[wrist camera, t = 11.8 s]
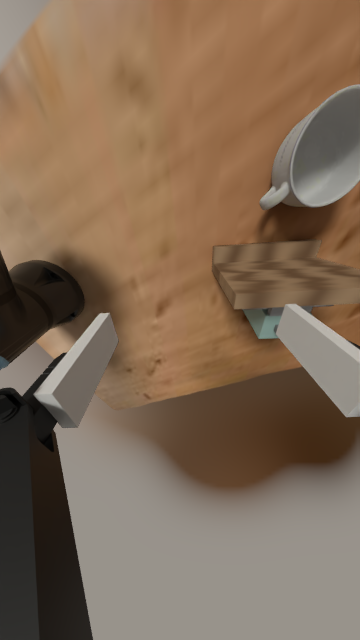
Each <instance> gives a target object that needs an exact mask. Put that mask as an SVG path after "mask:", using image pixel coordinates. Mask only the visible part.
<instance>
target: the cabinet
mask: <svg viewBox="0 0 360 640" xmlns="http://www.w3.org/2000/svg"><path fill="white" fill-rule="evenodd" d="M300 307H301V308H302V309H304V310H305V311H306V312H308V313H309V314H312V313H310V312H311V310H312V308H313V306H300ZM283 310H284V307H273V308H268V309H259V310H243V311H244V313H245V315H246V317H247V319H248V320H249V322H250V324H251V326H252V328H253V329H254V331H255V333H256V335H257V337H258V338H259V339H268V338H278V336H277V335H276V331H277V328H278V325H279V322H280V319H281V316H282V313H283Z"/></svg>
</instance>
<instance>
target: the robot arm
mask: <svg viewBox="0 0 360 640" xmlns="http://www.w3.org/2000/svg"><path fill="white" fill-rule="evenodd" d="M83 308H84V296H83V293H82V290H81V288H80V286H79V285H78V283H77V282H76V281H75V279H74V278H73V277H72V276H71V275H70V274H69V273H67V272H66V271H65V270H63V269H62V268H60V267H59V266H57V265H55V264H52V263H50V262H46V261H41V260H32V261H28V262H24V263H21V264H18V265H16V266H15V267H13V268H12V269H11V270H10V271H9V272H8V269H7V267H6V264H5V261H4V259H3V256H2V254H1V251H0V370H1V369H2V368H5V367H7V366H8V365H9V364H10V363H11V362H12V361H13V360H14V359H15V358H17V357H18V356H19V355H20V354H21V353H22V352H24V351H25V350H26V349H27V348H28V347H29V346H30V345H32V344H33V343H34V342H35V341H36V340H38V339H39V338H40V337H41V336H42V335H43V334H45V333H46V332H47V331H48V330H49V329H52V328H55V327H57V326H60V325H63V324H66V323H68V322H71V321H72V320H74V319H75V318H76V317H77V316H78V315H79V314H80V313H81V312H82V310H83ZM276 335H277V336H278V338H279V339H280V340H281V341H282V342H283V343H284V345H285V346H286V347H287V348H288V349H289V350H290V352H291V353H292V354H293V355H294V356H295V358H296V359H297V360H298V361H299V362H300V363H301V365H302V366H303V367H304V368H305V369H306V370H307V372H308V373H309V374H310V375H311V376H312V377H313V379H314V380H315V381H316V382H317V383H318V384H319V386H320V387H321V388H322V389H323V390H324V392H325V393H326V394H327V395H328V396H329V397H330V399H331V400H332V401H333V402H334V403H335V405H336V406H337V407H338V408H339V409H340V410H341V412H342V413H343V414H344V415H345V416H346V417H356V416H360V346H358V345H356V344H354V343H352V342H350V341H348V340H345V339H344V338H343V337H341V336H340V335H338V334H337V333H336V332H334V331H333V330H332V329H330V328H329V327H327V326H326V325H325V324H323V323H322V322H320V321H319V320H318V319H316V318H315V317H313V316H312V315H311V314H309V313H308V312H306V311H305V310H304V309H302V308H301V307H300V306H298V305H297V304H285V307H284V310H283V313H282V316H281V319H280V322H279V325H278V328H277V331H276ZM118 342H119V340H118V337H117V334H116V331H115V328H114V324H113V321H112V318H111V315H110V313H100V314H99V315H98V316H97V317H96V318H95V320H94V321H93V322H92V323H91V325H90V326H89V327H88V328H87V329H86V331H85V332H84V333H83V334H82V336H81V337H80V338H79V339H78V340H77V342H76V343H75V344H74V345H73V347H72V348H71V349H70V350H69V351H68V353H63V354H61V355H60V356H58V357H57V358H56V359H54V360H53V362H52V363H51V364H50V365H49V366H48V368H47V369H46V370H45V371H44V372H43V374H42V375H40V377H39V378H38V379H37V380H36V381H35V382H34V383H33V385H32V386H31V387H30V388H29V389H28V390H27V392H26V393H25V394H24V395H23V396H21V395H20V394H19V393H18V392H17V391H16V390H15V389H13V388H3V389H0V640H93V637H92V632H91V627H90V621H89V615H88V610H87V604H86V599H85V593H84V588H83V582H82V577H81V571H80V566H79V561H78V555H77V549H76V544H75V539H74V533H73V527H72V522H71V516H70V511H69V505H68V500H67V494H66V489H65V483H64V478H63V472H62V467H61V462H60V456H59V450H58V445H57V439H56V434H55V432H54V430H53V428H54V427H55V425H56V423H57V422H58V423H59V425H61V427H62V428H75V427H78V426H79V424H80V422H81V419H82V418H83V416H84V413H85V411H86V409H87V407H88V405H89V403H90V401H91V399H92V397H93V394H94V392H95V390H96V388H97V386H98V384H99V382H100V380H101V378H102V376H103V374H104V371H105V369H106V367H107V365H108V363H109V361H110V359H111V357H112V355H113V353H114V350H115V348H116V346H117V344H118Z"/></svg>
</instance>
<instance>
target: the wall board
mask: <svg viewBox="0 0 360 640" xmlns="http://www.w3.org/2000/svg"><path fill="white" fill-rule="evenodd" d="M321 242H322V240H316V239H311V240H296V241H281V242H266V243H251V244H235V245H220V246H213V256H212V272H213V274H214V275H215V277H216V279H217V280H218V282H219V284H220V286H221V287H222V289H223V291H224V293H225V294H226V296H227V298H228V300H229V301H230V303H231V305H232V307H233V308H234V309H242V310H259V309H268V308H273V307H285V304H297V305H298V306H313V307H321V306H334V304H355V303H360V269H356V268H353V267H349V266H346V265H342V264H338V263H335V262H331V261H328V260H324V259H321V258H317V257H316V256H317V253H318V250H319V247H320V245H321Z"/></svg>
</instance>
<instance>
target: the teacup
mask: <svg viewBox="0 0 360 640" xmlns="http://www.w3.org/2000/svg"><path fill="white" fill-rule="evenodd" d="M359 181H360V85H353V86H348V87H346V88H344V89H342V90H340V91H338V92H336V93H335V94H333V95H332V96H330V97H329V98H328V99H327V100H325V101H324V102H323V103H322V104H321V105H320V106H319V107H318V108H316V109H315V110H314V111H312V112H311V113H310V114H309V115H307V116H306V117H305V118H304V119H303V120H301V121H300V122H299V123H298V124H297V125H296V126H295V127H294V128H293V129H292V130H291V132H290V133H289V134H288V135H287V137H286V138H285V140H284V141H283V143H282V144H281V146H280V148H279V150H278V152H277V155H276V157H275V160H274V164H273V168H272V188H271V189H270V190H269V191H268V192H267V193H266V194H265V195H264V196H263V197H262V198H261V200H260V206H261V208H262V210H268V209H270V208H272V207H274V206H275V205H277V204H279V203H280V202H282V203H284V204H286V205H289V206H295V207H311V208H315V207H323V206H326V205H329V204H331V203H333V202H335V201H337V200H339V199H340V198H342V197H343V196H344V195H346V194H347V193H348V192H349V191H350V190H351V189H352V188H353V187H354V186H355V185H356V184H357V183H358V182H359Z"/></svg>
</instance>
